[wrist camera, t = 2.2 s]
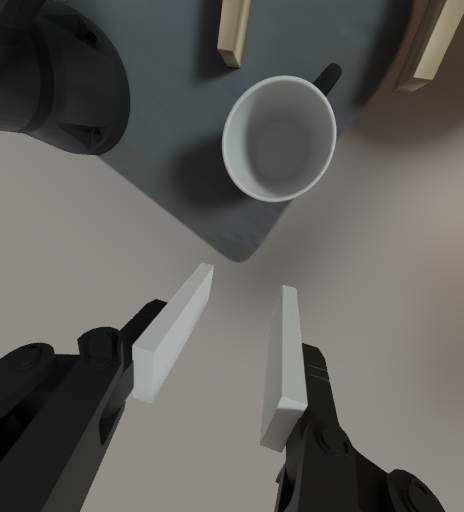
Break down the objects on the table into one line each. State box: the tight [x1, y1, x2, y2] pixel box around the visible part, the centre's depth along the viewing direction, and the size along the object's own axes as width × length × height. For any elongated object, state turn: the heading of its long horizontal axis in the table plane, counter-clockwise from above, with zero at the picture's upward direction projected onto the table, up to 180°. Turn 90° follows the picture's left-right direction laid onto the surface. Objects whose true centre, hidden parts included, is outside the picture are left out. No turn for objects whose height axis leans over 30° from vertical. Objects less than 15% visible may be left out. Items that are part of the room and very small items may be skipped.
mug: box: [222, 63, 342, 202], centre depth 21 cm, size 12×9×10 cm
